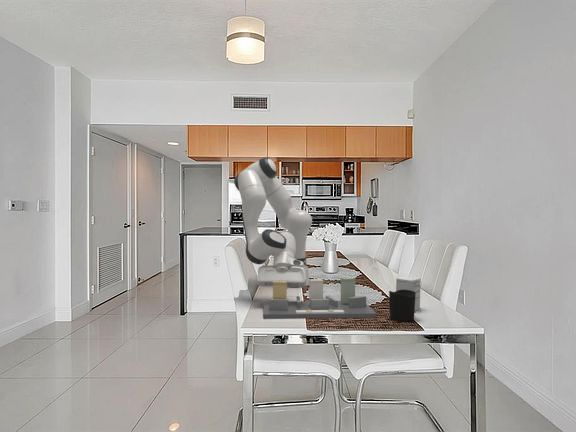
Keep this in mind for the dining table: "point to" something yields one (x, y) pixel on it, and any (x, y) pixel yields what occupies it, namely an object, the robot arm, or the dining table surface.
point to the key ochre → (279, 289)
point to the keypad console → (318, 308)
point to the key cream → (315, 289)
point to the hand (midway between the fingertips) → (280, 294)
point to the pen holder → (402, 305)
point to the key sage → (347, 289)
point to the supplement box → (410, 287)
